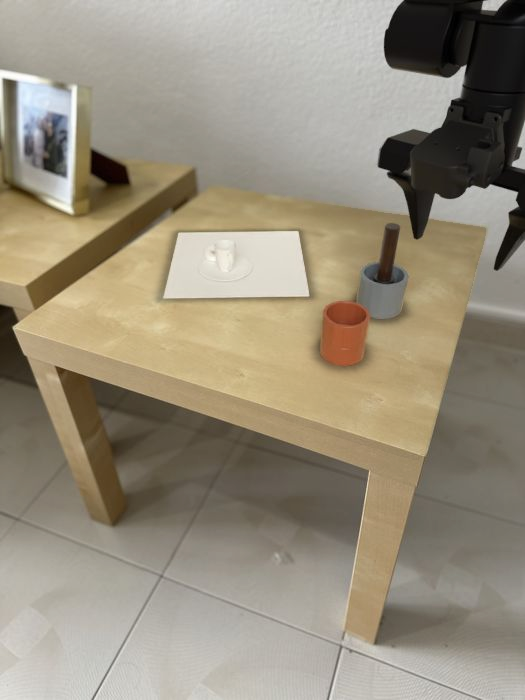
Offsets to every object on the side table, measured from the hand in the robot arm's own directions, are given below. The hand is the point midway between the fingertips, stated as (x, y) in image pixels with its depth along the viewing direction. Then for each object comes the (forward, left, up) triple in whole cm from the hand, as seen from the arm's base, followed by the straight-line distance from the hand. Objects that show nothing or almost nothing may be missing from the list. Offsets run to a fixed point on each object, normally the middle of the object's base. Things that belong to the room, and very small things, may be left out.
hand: (455, 252), depth 53 cm
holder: (+7, +8, -13) cm, 17 cm away
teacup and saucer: (+32, +3, -13) cm, 35 cm away
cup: (+10, -3, -13) cm, 16 cm away
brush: (+10, -3, -12) cm, 16 cm away
